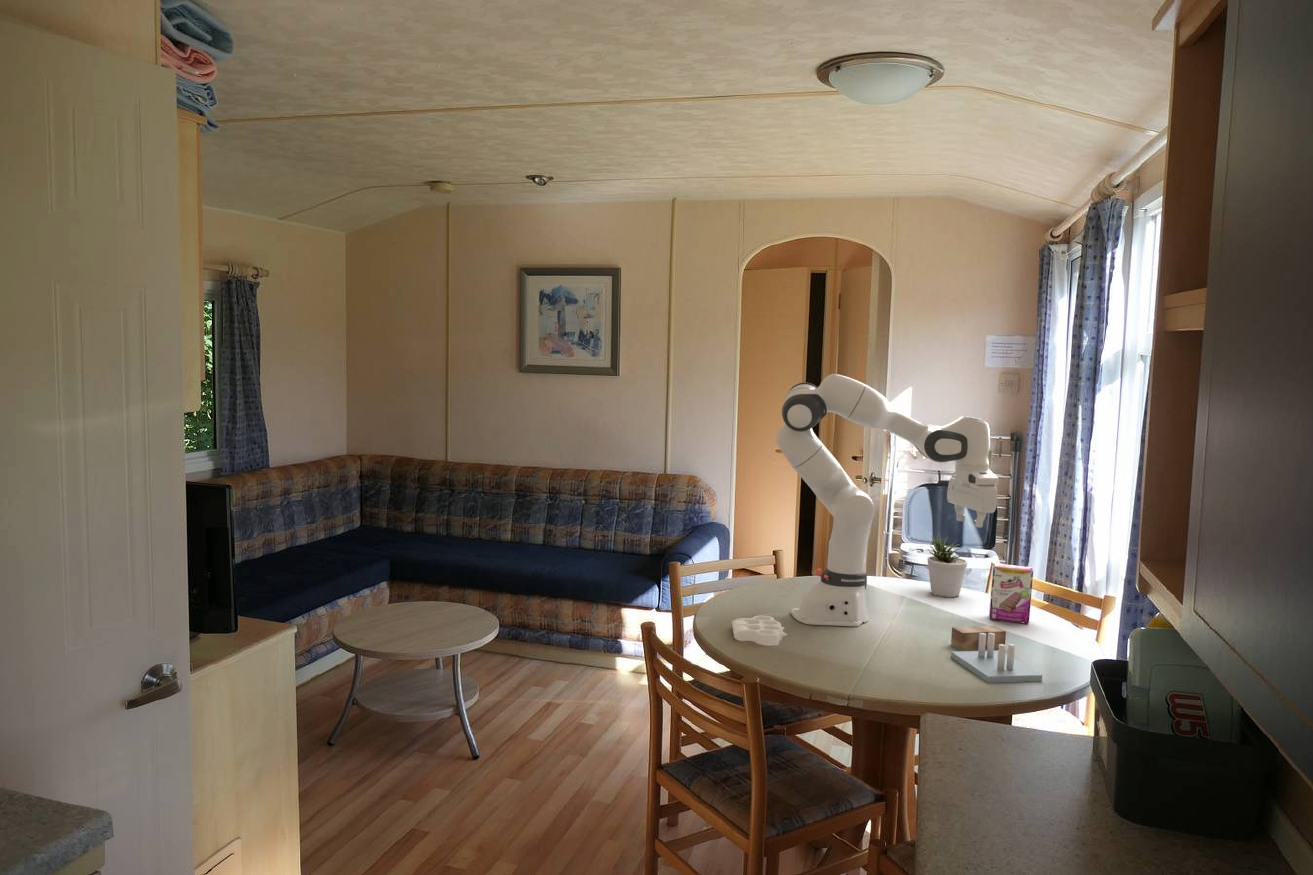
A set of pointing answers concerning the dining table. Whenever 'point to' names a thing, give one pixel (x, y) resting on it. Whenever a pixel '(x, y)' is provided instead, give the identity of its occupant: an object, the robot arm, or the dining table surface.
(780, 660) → the dining table surface
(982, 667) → the peg stand
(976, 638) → the walnut wood block
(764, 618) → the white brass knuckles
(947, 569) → the potted plant
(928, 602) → the dining table surface
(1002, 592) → the candy bar box
